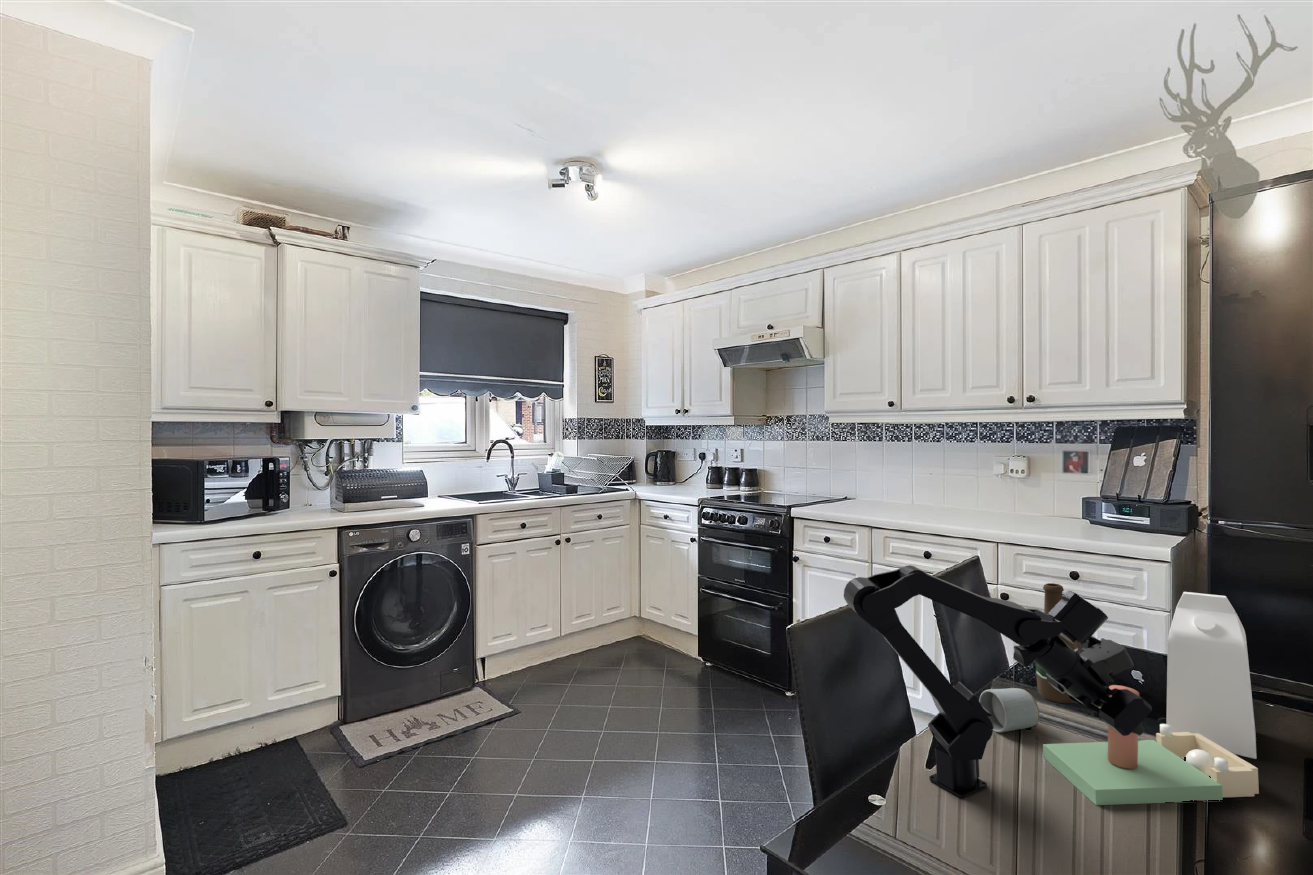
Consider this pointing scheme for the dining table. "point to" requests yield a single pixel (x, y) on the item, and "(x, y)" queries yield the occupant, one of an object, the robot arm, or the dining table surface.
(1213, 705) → the milk
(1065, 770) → the pitch
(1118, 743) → the salmon pink cylinder
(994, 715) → the ceramic mug
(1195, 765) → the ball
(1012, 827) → the dining table surface
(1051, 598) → the beer bottle
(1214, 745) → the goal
